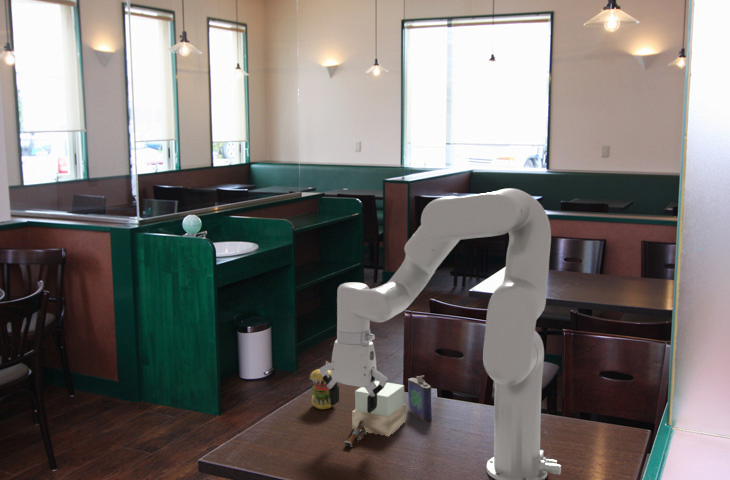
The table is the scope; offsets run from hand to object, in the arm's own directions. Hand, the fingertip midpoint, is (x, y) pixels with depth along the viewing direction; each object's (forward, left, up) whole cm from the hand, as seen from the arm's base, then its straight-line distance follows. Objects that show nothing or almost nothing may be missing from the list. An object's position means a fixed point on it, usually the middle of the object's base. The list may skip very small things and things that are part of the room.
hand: (352, 407), depth 163 cm
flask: (-9, -21, -9) cm, 24 cm away
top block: (-2, -11, -4) cm, 12 cm away
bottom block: (-2, -11, -9) cm, 14 cm away
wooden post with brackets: (-1, 0, -9) cm, 9 cm away
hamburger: (+17, -17, -9) cm, 26 cm away
